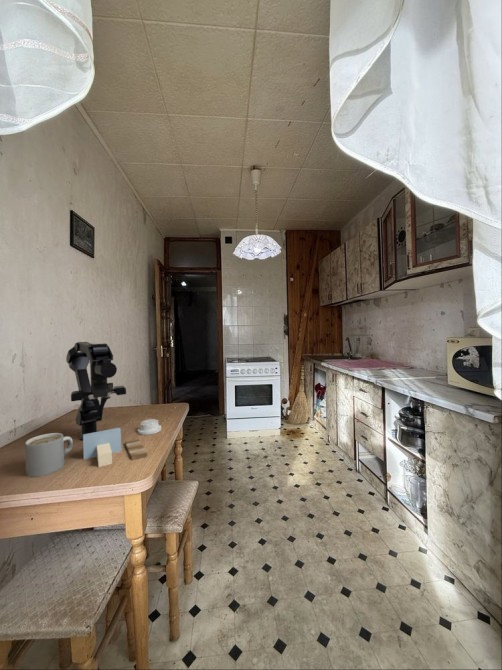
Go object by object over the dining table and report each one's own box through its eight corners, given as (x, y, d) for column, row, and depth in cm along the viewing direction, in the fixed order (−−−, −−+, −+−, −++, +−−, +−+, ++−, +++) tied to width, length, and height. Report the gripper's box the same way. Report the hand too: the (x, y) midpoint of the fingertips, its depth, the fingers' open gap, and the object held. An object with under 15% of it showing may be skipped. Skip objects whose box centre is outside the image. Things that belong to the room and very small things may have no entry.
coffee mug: (31, 480, 82) (30, 447, 81) (22, 470, 88) (21, 440, 87) (80, 462, 92) (79, 433, 92) (69, 455, 98) (68, 427, 98)
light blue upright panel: (83, 456, 97) (82, 434, 97) (120, 448, 103) (119, 427, 103) (84, 470, 87) (83, 446, 87) (125, 460, 93) (124, 437, 93)
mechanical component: (132, 434, 117) (153, 436, 115) (132, 424, 117) (153, 425, 115) (146, 426, 127) (165, 427, 125) (145, 417, 127) (165, 418, 125)
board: (125, 444, 107) (124, 441, 107) (138, 441, 109) (138, 438, 109) (131, 460, 93) (131, 456, 93) (147, 456, 96) (147, 452, 96)
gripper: (70, 381, 95) (71, 425, 95) (127, 375, 105) (128, 415, 105) (70, 376, 104) (71, 417, 104) (123, 372, 114) (124, 408, 114)
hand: (100, 414), depth 107 cm, fingers closed
